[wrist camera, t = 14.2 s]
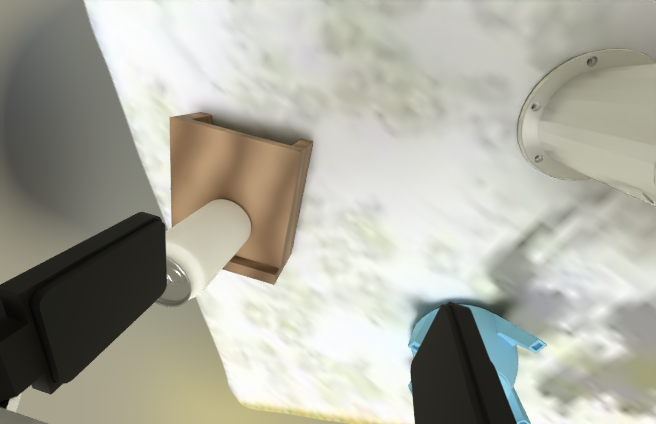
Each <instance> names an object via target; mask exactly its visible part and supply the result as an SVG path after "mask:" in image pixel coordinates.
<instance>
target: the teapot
mask: <svg viewBox="0 0 656 424" xmlns="http://www.w3.org/2000/svg"><path fill="white" fill-rule="evenodd" d="M459 305H463V304H459ZM463 306H466V307H469V308H470V309H471V311H472V314H473V316H474V319H475V321H476V324H477V327H478V329H479V332H480V334H481V337H482V340H483V342H484V345H485V348H486V350H487V353H488V355H489V358H490V361H491V362H492V363H493V365H494V366H495V368H496V371H497V373H498V376H499V379H500V381H501V384H502V386H503V389H504V391H505V394H506V397H507V399H508V402H509V404H510V407H511V409H512V412H513V414H514V417H515V420H516V422H517V424H531V423H530V421H529V418H528V416H527V414H526V412H525V410H524V408H523V406H522V404H521V402H520V399H519V397H518V395H517V393H516V391H515V389H514V387H513V386H514V383H515V379H516V376H517V371H518V353H517V347H516V345H519V346H522V347H524V348H527V349H529V350H532V351H533V352H535V353H537V352H539V351H540V350H541V349H543V348H544V347H545V346H547V345H546V343H544V342H543V341H541V340H540V339H538V338H537V337H535V336H533V335H532V334H530V333H528V332H526V331H524V330H523V329H521V328H519V327H517V326H515V325H514V324H512V323H510V322H508V321H507V320H505V319H503V318H501V317H499V316H498V315H496V314H493V313H491V312H489V311H487V310H485V309H482V308H479V307H475V306H471V305H463ZM438 310H439V308H437V309H435V310H433V311H431V312H430V313H428V314H426V315H425V316H424V317H423V318H422V319H421V320H420V321H419V322H417V323H416V325H415V327H414V330H413V332H412V335H411V339H410V342H409V344H408V347H410V348H411V349H412V353H413V357H415V355H416V353H417V351H418V349H419V347H420V345H421V343H422V341H423V339H424V337H425V335H426V333H427V332H428V330H429V328H430V326H431V324H432V322H433V320H434V318H435V316H436V314H437V312H438ZM408 386H409V389H410V391H411V393H412V384H411V382H410V384H409V385H408ZM412 396H413V395H412Z"/></svg>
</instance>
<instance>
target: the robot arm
mask: <svg viewBox="0 0 656 424" xmlns="http://www.w3.org/2000/svg"><path fill="white" fill-rule="evenodd" d="M587 60H589V63H588V64H587ZM533 104H534V105H535V106H534V108H532V109H531V107H532V105H533ZM518 142H519V145H520V148H521V151H522V153H523V155H524V156H525V158H526V160H527V161H528V162H529V163H530V164H531V165H532V166H533V167H535V168H536V169H538V170H539V171H541V172H543V173H545V174H547V175H549V176H551V177H555V178H559V179H564V180H583V179H590V178H593V179H596V180H598V181H600V182H602V183H605V184H607V185H609V186H611V187H613V188H616V189H618V190H620V191H622V192H625V193H627V194H629V195H631V196H633V197H636V198H638V199H640V200H642V201H645V202H647V203H649V204H651V205H653V206H656V61H654V60H653V59H651V58H650V57H648V56H647V55H645V54H643V53H640V52H637V51H634V50H628V49H619V48H618V49H605V50H599V51H594V52H589V53H586V54H583V55H580V56H578V57H575V58H573V59H571V60H569V61H567V62H565V63H563V64H562V65H560V66H559V67H557V68H556V69H555V70H553V71H552V72H551V73H549V74H548V75H547V76H546V77H545V78H544V79H543V80H542V81H541V82H540V83H539V84H538V85H537V86H536V88H535V89H534V90H533V92H532V93H531V94H530V95H529V97H528V99H527V101H526V103H525V105H524V107H523V109H522V112H521V115H520V118H519V124H518ZM536 156H537V158H536V159H535V157H536ZM166 287H167V268H166V234H165V224H164V223H163V222H162V220H161V218H160V217H158V216H155V215H152V214H148V213H145V212H139V213H137V214H135V215H133V216H131V217H129V218H127V219H125V220H123V221H122V222H120V223H118V224H116V225H114V226H112V227H110V228H108V229H106V230H104V231H102V232H100V233H98V234H97V235H95V236H93V237H91V238H89V239H87V240H85V241H83V242H81V243H79V244H77V245H75V246H74V247H72V248H70V249H68V250H66V251H64V252H62V253H60V254H58V255H56V256H54V257H53V258H50V259H49V260H47V261H45V262H43V263H41V264H39V265H37V266H35V267H33V268H31V269H29V270H28V271H26V272H24V273H22V274H20V275H18V276H16V277H14V278H12V279H10V280H8V281H6V282H5V283H3V284H1V285H0V424H47V423H44V422H42V421H39V420H36V419H33V418H30V417H27V416H24V415H21V414H19V413H16V410H17V407H18V403H19V400H20V397H21V394H22V392H23V391H24V390H25V389H26V388H28V387H29V386H30V385H32V387H33V388H34V389H37V390H40V391H42V392H45V393H49V394H52V393H53V392H54V391H55V390H56V389H58V388H59V387H60V386H61V385H62V384H63V383H68V382H70V381H71V380H73V379H74V378H75V377H76V376H77V375H78V374H79V373H80V372H81V371H82V370H83V369H84V368H85V367H87V366H88V365H89V364H90V363H91V362H92V361H93V360H94V359H95V358H96V357H97V356H98V355H99V354H100V353H101V352H102V351H103V350H105V348H107V347H108V346H109V345H110V344H111V343H112V342H113V341H114V340H115V339H116V338H117V337H118V336H119V335H120V334H121V333H122V332H123V331H125V330H126V329H127V328H128V327H129V326H130V325H131V324H132V323H133V322H134V321H135V320H136V319H137V318H138V317H139V316H140V315H142V313H143V312H145V311H146V310H147V309H148V308H149V307H150V306H151V305H152V304H153V303H154V302H155V301H156V300H157V299H158V298H159V297H161V296H162V294H163V293H164V292H165V290H166ZM411 384H412V395H413V406H414V417H415V424H517V422H516V420H515V417H514V414H513V412H512V409H511V407H510V404H509V402H508V399H507V397H506V394H505V391H504V389H503V386H502V384H501V381H500V379H499V376H498V373H497V371H496V368H495V366H494V365H493V363H492V362H491V361H490V358H489V355H488V353H487V350H486V348H485V345H484V342H483V340H482V337H481V334H480V332H479V329H478V327H477V324H476V321H475V319H474V316H473V314H472V311H471V309H470V308H469V307H466V306H463V305H459V304H456V303H452V302H449V303H448V304H447V305H442V306H441V307H440V308H439V310H438V312H437V314H436V316H435V318H434V320H433V322H432V324H431V326H430V328H429V330H428V332H427V333H426V335H425V337H424V339H423V341H422V343H421V345H420V347H419V349H418V351H417V353H416V355H415V357H414V359H413V361H412V364H411Z"/></svg>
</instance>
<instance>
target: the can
mask: <svg viewBox="0 0 656 424" xmlns="http://www.w3.org/2000/svg"><path fill="white" fill-rule="evenodd" d="M165 234H166V268H167V287H166V290H165V292H164V293H163V294H162V296H161V297H159V298H158V299H157V300H156V301H155V303H157V304H159V305H162V306H166V307H178V306H181V305H183V304H185V303H186V302H187V301H188V300H189V299H192V298H194V297H196V296H197V295H199V294H200V293H201V292H202V291H203V290H204V289H205V288H206V287H207V286H208V284H209V283H210V282H211V281H212V280H213V279H214V278H215V277H216V275H217V274H218V273H219V272H220V271H221V270H222V269H223V267H224V266H225V265H226V264H227V263H228V262H229V261H230V259H231V258H232V257H233V256H234V255H235V254H236V253H237V251H238V250H239V249H240V248H241V247H242V246H243V245H244V243H245V242H246V241H247V240H248V238H249V236H250V234H251V222H250V219H249V217H248V215H247V214H246V213H245V211H244V210H243V209H242V208H241V207H240V206H239V205H237V204H236V203H234V202H232V201H229V200H225V199H217V200H213V201H211V202H209V203H208V204H206V205H205V206H203V207H202V208H200V209H199V210H197V211H196V212H194V213H193V214H191V215H190V216H188V217H187V218H185V219H184V220H182V221H181V222H179V223H178V224H176V225H175V226H173V227H172V228H170V229H169V230H167V231H166V232H165Z"/></svg>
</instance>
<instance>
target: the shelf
mask: <svg viewBox="0 0 656 424" xmlns="http://www.w3.org/2000/svg"><path fill="white" fill-rule="evenodd" d="M312 146H313V142H312V141H308V140H304V139H301V140H299V141H298V142H296V143H295V144H293V145H292V146H290V145H287V144H283V143H279V142H275V141H271V140H268V139H264V138H260V137H256V136H253V135H249V134H245V133H241V132H238V131H234V130H230V129H226V128H222V127H219V126H215V125H212V115H209V114H205V113H201V112H200V113H194V114H187V115H181V116H174V117H170V160H171V214H172V227H173V226H175V225H176V224H178V223H179V222H181V221H182V220H184V219H185V218H187V217H188V216H190V215H191V214H193V213H194V212H196V211H197V210H199V209H200V208H202V207H203V206H205V205H206V204H208V203H209V202H211V201H213V200H217V199H225V200H229V201H232V202H234V203H236V204H237V205H239V206H240V207H241V208H242V209H243V210H244V211H245V213H246V214H247V215H248V217H249V219H250V222H251V234H250V236H249V238H248V240H247V241H246V242H245V243H244V245H243V246H242V247H241V248H240V249H239V250H238V251H237V253H236V254H235V255H234V256H233V257H232V258H231V259H230V261H229V262H228V263H227V264H226V265H225V266H224V267H223V270H227V271H230V272H233V273H237V274H240V275H243V276H247V277H250V278H253V279H257V280H260V281H263V282H267V283H270V284H273V285H274V284H275V282H276V280H277V279H278V277H279V275H280V273H281V271H282V270H283V268H284V266H285V264H286V262H287V260H288V259H289V257H290V255H291V253H292V247H293V242H294V237H295V232H296V227H297V222H298V217H299V212H300V207H301V202H302V197H303V192H304V186H305V181H306V176H307V171H308V166H309V161H310V156H311V151H312Z"/></svg>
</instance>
